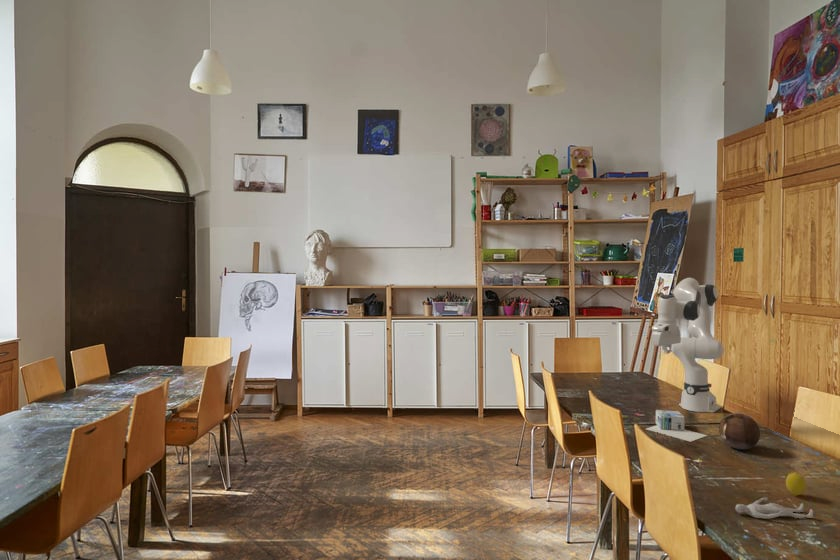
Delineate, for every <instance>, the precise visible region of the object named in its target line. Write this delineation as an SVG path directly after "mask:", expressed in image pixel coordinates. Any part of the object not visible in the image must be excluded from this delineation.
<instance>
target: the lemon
mask: <svg viewBox="0 0 840 560" xmlns="http://www.w3.org/2000/svg"><path fill="white" fill-rule="evenodd" d="M785 487H786V489H787V490H788V492H789V493H791V494H792V495H793V496H795V497H796V496H800V495H803V494H804V493H805V491H806V487H807V484H806V481H805V479H804V477H803V476H802V475H801V474H799V473H798V472H791V473H789V474H788V475H787V476H786V479H785Z"/></svg>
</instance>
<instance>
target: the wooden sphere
mask: <svg viewBox="0 0 840 560" xmlns="http://www.w3.org/2000/svg"><path fill="white" fill-rule="evenodd" d="M718 431H719V435H720V438H721V439H722V440H723V441H724V443H726V445H728V446H730V447H731V448H733V449H737V450H749V449H751V448H753V447H755V446H756V445H757V444H758V442H760V439H761V438H760V437H761V430H760V426H759V425H758V424H757V422H756V421H755V420H754V419H753V418H752V417H751V416H749V415H747V414H745V413H741V412H734V413H730V414H727V415H726V416H724V417H723V418H722V419H721V420H720V423H719V426H718Z"/></svg>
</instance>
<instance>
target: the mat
mask: <svg viewBox="0 0 840 560" xmlns="http://www.w3.org/2000/svg"><path fill="white" fill-rule="evenodd" d="M645 430H646V431H647V430H648V431H650V432H655V433H657V432H658V434H662V435H664V434H665V435H664V436H668V437H671V436H672V438H674V439H675V438H676V439H680V440H682V441H683V440H684V441H687V442H691V443H692V442H694V441H695V442H696V441H698V440H701V439H704V438H706V437H708V435H707V434H704V433H700V432H696V431H692V430H688V429H685V428H684V431H683V430H669V429H660V428H659V426H658V425H657V424H655V425H653V426H650V427H647V428H645Z"/></svg>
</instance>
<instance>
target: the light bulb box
mask: <svg viewBox="0 0 840 560" xmlns="http://www.w3.org/2000/svg"><path fill="white" fill-rule="evenodd" d="M654 421H655V425H658V426H659V428H660V429H669V430H683V431H684V429H685V416H684V415H683V414H682V413H681V412H680V411H677V410H675V411H674V410H663V409H662V410H661V409H656V410H655V420H654Z"/></svg>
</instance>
